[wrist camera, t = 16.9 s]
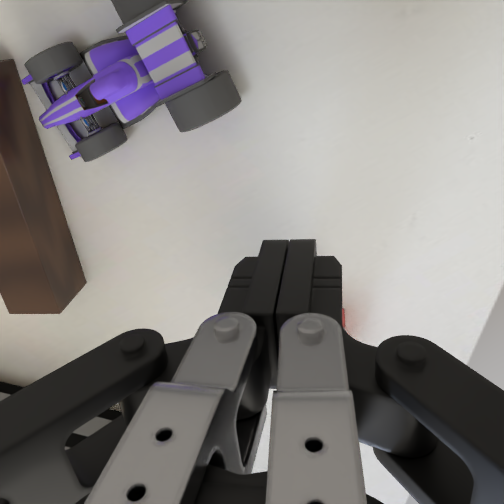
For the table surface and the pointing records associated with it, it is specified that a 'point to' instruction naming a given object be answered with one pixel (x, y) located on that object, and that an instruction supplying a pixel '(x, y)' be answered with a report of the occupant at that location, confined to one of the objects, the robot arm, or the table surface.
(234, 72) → the table surface
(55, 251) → the walnut beam
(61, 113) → the toy race car
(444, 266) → the table surface
